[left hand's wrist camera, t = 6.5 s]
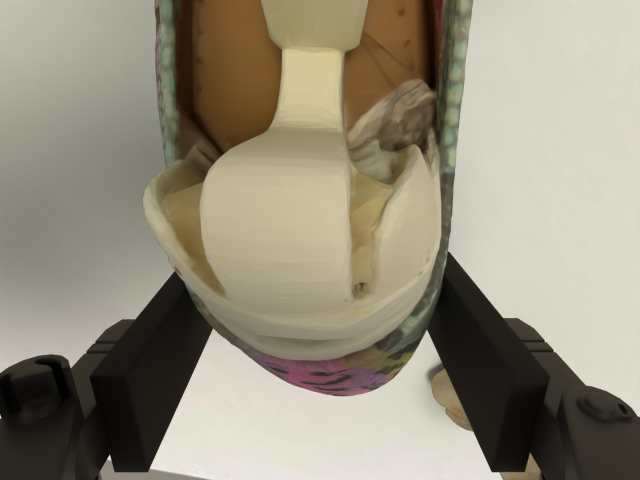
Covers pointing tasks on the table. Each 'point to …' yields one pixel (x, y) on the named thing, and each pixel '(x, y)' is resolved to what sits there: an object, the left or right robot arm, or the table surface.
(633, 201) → the table surface
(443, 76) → the ballet flat
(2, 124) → the table surface
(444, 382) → the sculpture
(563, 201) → the table surface
